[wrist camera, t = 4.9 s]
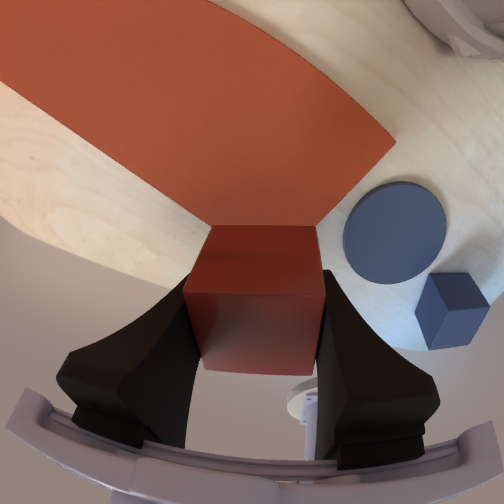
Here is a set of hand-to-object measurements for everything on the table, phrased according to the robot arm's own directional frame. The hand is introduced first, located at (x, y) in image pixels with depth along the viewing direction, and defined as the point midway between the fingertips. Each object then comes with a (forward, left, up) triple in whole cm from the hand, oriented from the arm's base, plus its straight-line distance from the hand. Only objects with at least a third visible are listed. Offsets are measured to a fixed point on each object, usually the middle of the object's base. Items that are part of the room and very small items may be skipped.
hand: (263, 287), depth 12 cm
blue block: (-7, -15, -8) cm, 18 cm away
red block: (0, 0, -1) cm, 1 cm away
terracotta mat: (+13, +12, -8) cm, 19 cm away
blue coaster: (-2, -9, -8) cm, 12 cm away
